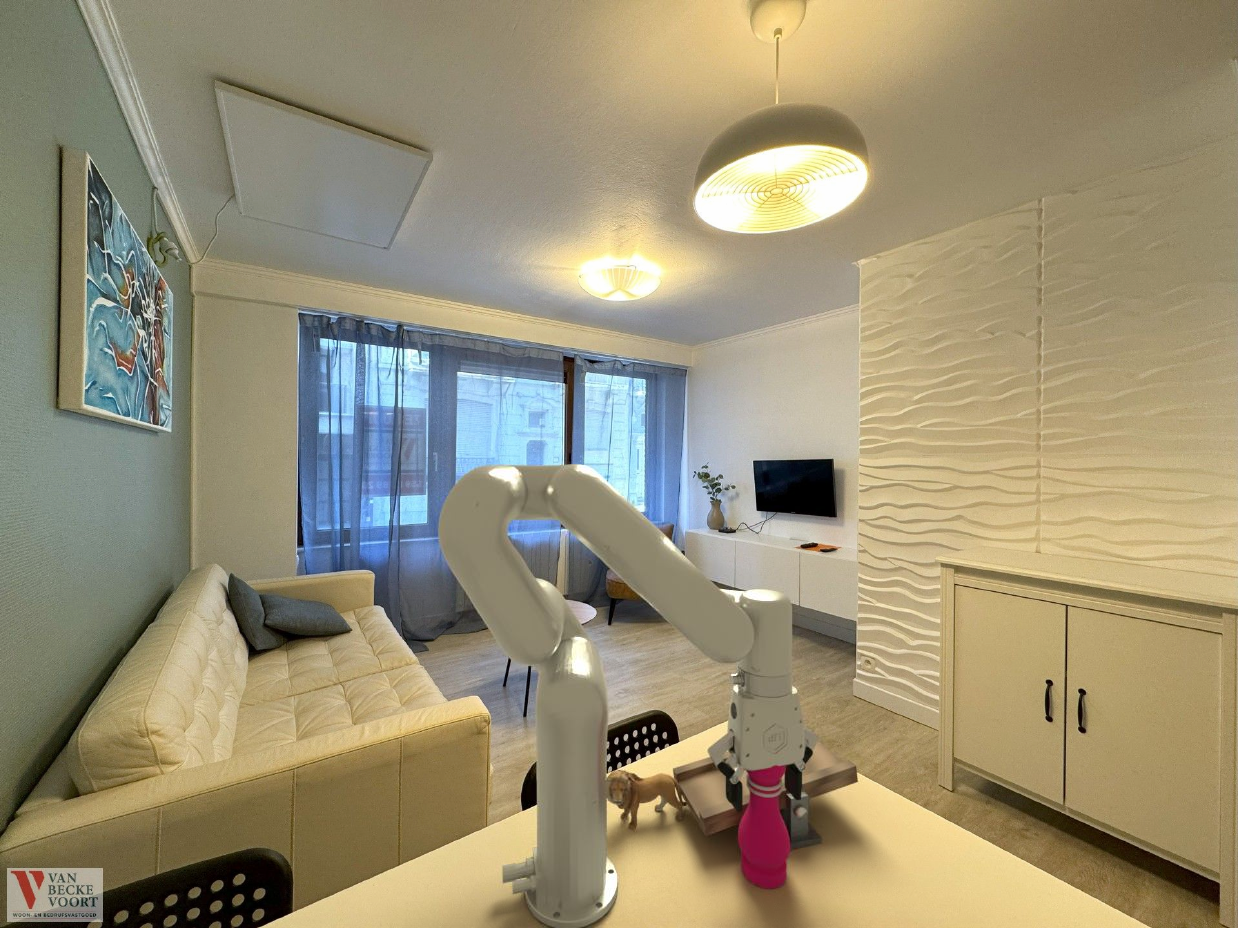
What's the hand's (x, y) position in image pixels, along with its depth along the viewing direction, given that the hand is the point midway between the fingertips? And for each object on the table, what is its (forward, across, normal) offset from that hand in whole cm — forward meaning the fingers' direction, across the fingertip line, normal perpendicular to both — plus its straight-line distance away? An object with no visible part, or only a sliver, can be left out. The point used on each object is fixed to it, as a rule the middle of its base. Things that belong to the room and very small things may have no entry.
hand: (764, 799), depth 72 cm
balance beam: (+5, +6, +11) cm, 14 cm away
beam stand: (+10, +8, +11) cm, 17 cm away
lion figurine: (+10, -13, +14) cm, 22 cm away
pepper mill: (+10, 0, 0) cm, 10 cm away
